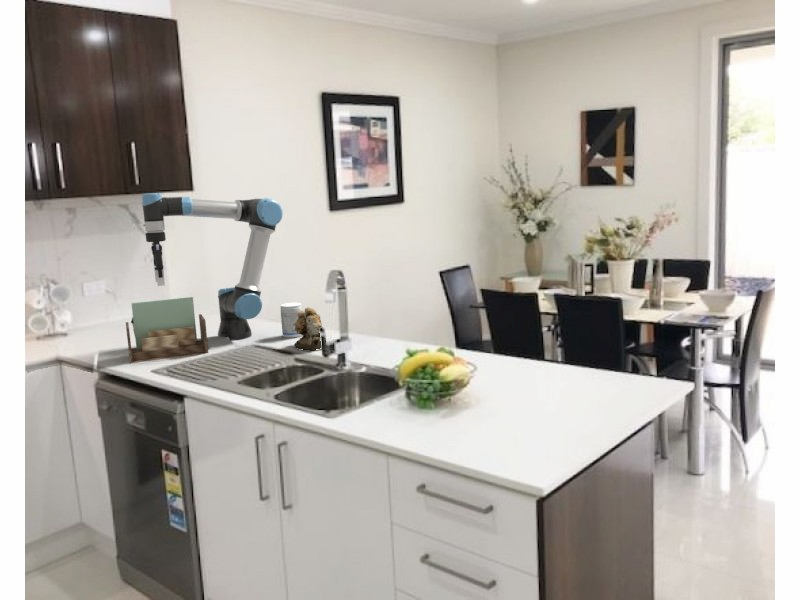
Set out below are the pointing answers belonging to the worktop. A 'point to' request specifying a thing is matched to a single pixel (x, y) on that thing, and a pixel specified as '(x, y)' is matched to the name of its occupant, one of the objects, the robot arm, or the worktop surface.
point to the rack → (180, 351)
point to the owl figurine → (308, 329)
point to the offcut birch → (159, 343)
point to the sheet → (162, 316)
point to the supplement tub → (290, 319)
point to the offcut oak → (183, 334)
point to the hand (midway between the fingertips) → (160, 283)
